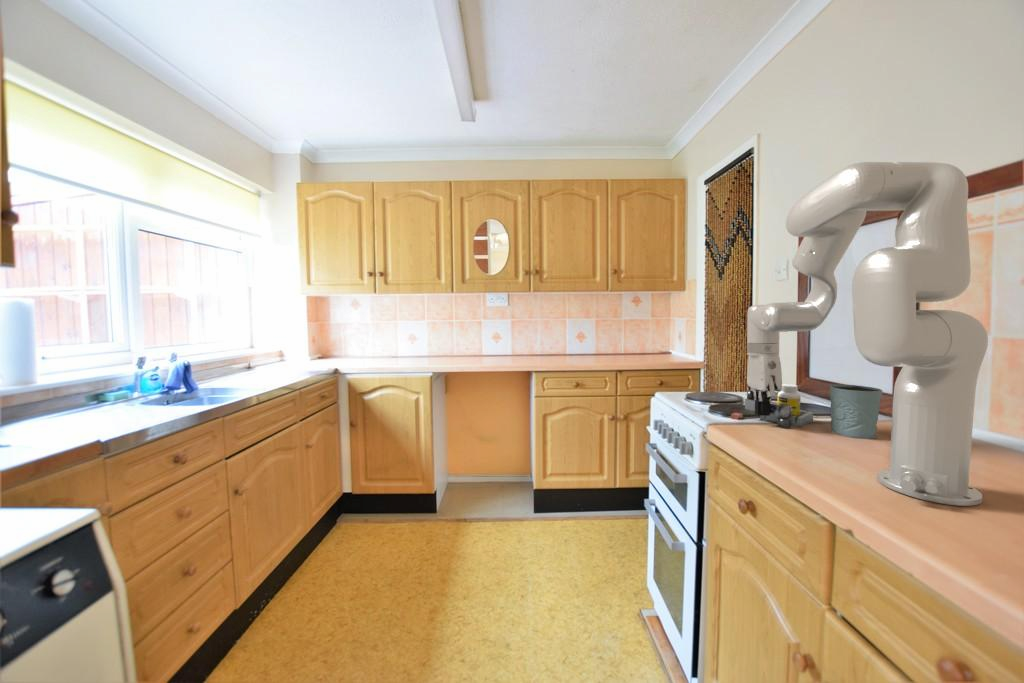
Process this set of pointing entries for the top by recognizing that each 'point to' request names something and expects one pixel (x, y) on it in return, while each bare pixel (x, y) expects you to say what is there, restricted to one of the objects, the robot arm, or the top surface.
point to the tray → (792, 419)
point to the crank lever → (775, 408)
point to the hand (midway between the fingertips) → (762, 414)
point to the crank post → (782, 421)
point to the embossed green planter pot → (854, 410)
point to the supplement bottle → (790, 398)
